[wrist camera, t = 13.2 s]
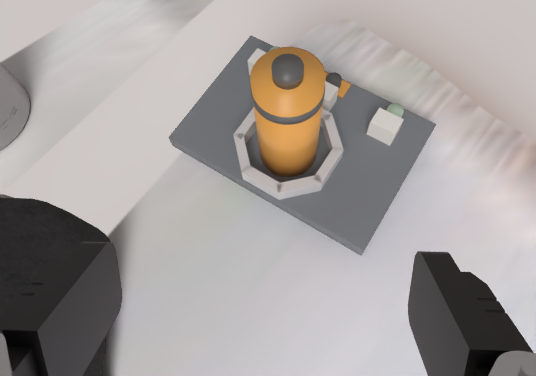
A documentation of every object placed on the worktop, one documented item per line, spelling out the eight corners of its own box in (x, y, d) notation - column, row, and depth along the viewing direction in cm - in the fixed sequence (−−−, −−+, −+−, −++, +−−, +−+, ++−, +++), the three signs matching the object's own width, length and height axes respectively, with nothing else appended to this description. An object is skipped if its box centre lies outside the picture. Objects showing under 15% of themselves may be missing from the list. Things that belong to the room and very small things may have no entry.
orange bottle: (248, 160, 37) (233, 78, 27) (278, 117, 39) (274, 24, 29) (298, 187, 36) (302, 112, 26) (327, 142, 37) (341, 54, 27)
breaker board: (172, 145, 40) (162, 125, 37) (252, 46, 44) (249, 20, 40) (361, 255, 35) (368, 243, 32) (431, 133, 39) (443, 111, 36)
